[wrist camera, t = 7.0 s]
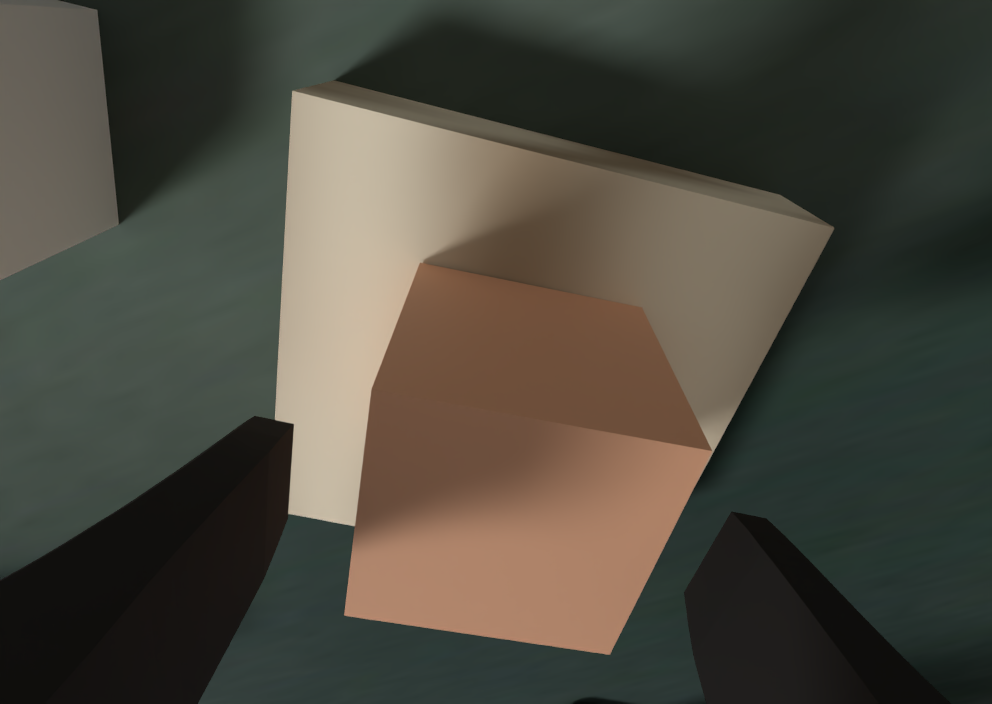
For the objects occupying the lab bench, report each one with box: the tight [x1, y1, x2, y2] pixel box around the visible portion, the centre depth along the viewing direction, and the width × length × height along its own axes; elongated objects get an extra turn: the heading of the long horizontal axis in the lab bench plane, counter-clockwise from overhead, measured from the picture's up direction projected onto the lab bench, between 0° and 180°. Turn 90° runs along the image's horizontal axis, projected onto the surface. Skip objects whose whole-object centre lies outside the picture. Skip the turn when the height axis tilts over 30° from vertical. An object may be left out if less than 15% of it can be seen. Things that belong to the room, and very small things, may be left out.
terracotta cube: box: [344, 263, 712, 655], centre depth 10 cm, size 4×4×4 cm
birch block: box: [275, 81, 835, 526], centre depth 14 cm, size 10×10×3 cm
